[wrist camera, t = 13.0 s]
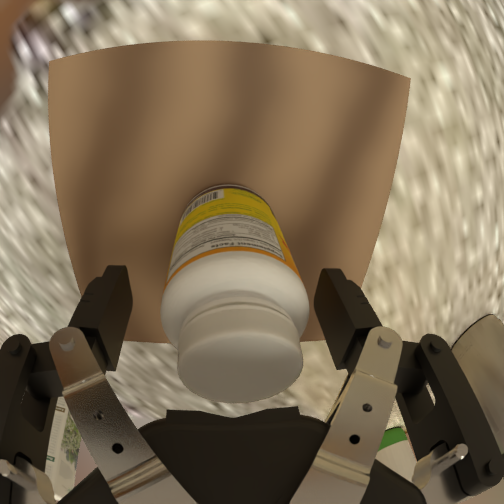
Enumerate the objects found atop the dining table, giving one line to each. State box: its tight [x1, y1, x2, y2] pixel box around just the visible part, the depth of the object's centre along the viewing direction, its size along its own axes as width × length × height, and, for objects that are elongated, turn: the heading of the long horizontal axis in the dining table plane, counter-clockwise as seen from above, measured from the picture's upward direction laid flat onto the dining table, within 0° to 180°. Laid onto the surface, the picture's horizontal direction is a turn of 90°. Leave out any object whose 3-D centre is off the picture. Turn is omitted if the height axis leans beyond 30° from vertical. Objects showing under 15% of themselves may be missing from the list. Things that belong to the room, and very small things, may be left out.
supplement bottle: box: [160, 185, 309, 403], centre depth 12 cm, size 5×5×10 cm
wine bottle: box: [375, 428, 416, 482], centre depth 32 cm, size 8×8×30 cm
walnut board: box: [48, 41, 411, 343], centre depth 17 cm, size 20×20×1 cm
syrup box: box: [45, 397, 81, 501], centre depth 19 cm, size 6×6×14 cm
